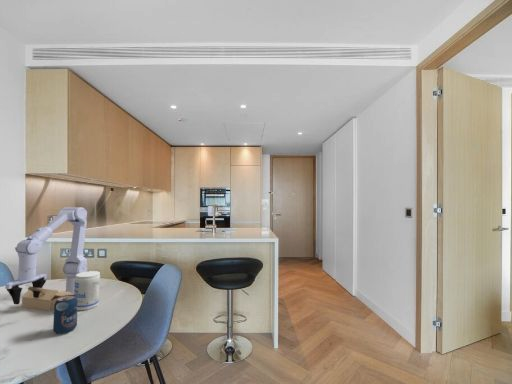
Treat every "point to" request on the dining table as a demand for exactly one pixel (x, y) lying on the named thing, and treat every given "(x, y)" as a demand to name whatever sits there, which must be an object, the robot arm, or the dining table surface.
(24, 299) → the carton
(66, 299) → the soda can
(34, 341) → the dining table surface
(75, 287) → the supplement tub
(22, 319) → the dining table surface
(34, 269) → the robot arm
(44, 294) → the far flap
